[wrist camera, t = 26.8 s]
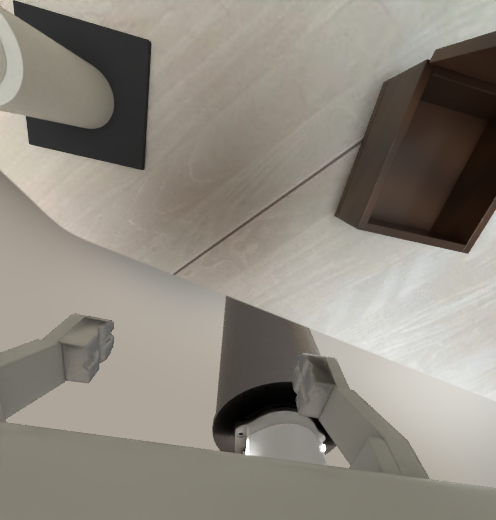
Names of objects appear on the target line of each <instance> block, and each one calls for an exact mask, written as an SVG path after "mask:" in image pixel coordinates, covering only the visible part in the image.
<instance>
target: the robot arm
mask: <svg viewBox="0 0 496 520" xmlns="http://www.w3.org/2000/svg"><path fill="white" fill-rule="evenodd" d="M113 329H114V322H113V321H112V320H107V319H101V318H97V317H91V316H85V315H79V314H73V315H70V316H69V317H68V318H67V319H66V320H65V321H63V322H62V323H61V324H60V325H59V326H58V327H57V328H55V329H54V330H53V331H52V332H50V333H49V334H48V335H47V336H46V337H45V338H44V339H42V340H38V339H37V340H34V341H32V342H29V343H26V344H23V345H20V346H18V347H15V348H12V349H9V350H7V351H4V352H1V353H0V520H496V488H492V487H484V486H477V485H469V484H462V483H454V482H446V481H439V480H432V479H430V478H429V477H428V475H427V473H426V471H425V470H424V468H423V466H422V465H421V463H420V461H419V459H418V457H417V456H416V454H415V452H414V451H413V449H412V447H411V445H410V443H409V442H408V440H407V439H405V438H404V437H403V436H402V435H401V434H400V433H399V432H398V431H397V430H396V429H395V428H393V426H391V425H390V424H389V423H388V422H387V421H386V420H385V419H384V418H383V417H382V416H381V415H380V414H378V413H377V412H376V411H375V410H374V409H373V408H372V407H371V406H370V405H368V403H367V402H366V401H364V400H363V399H362V398H361V397H360V396H359V395H358V394H357V393H356V392H355V391H354V390H350V388H349V386H348V384H347V382H346V380H345V378H344V375H343V373H342V371H341V369H340V366H339V364H338V362H337V361H336V359H335V358H331V357H323V356H317V355H311V354H305V353H301V354H300V356H299V359H298V361H299V365H298V366H296V367H295V369H294V372H293V379H292V381H293V389H294V391H295V392H296V393H297V394H298V395H297V397H296V404H297V409H296V408H289V407H280V408H273V409H269V410H266V411H263V412H261V413H259V414H257V415H256V416H254V417H253V418H251V419H249V420H246V421H242V422H239V423H237V424H236V425H235V444H234V453H230V452H222V451H214V450H206V449H199V448H192V447H185V446H177V445H169V444H163V443H155V442H148V441H140V440H133V439H126V438H118V437H110V436H103V435H96V434H88V433H80V432H73V431H66V430H58V429H50V428H43V427H35V426H28V425H21V424H13V423H6V420H5V419H7V418H8V417H10V416H11V415H13V414H14V413H16V412H18V411H19V410H21V409H22V408H24V407H26V406H27V405H29V404H30V403H32V402H33V401H35V400H37V399H38V398H40V397H42V396H43V395H45V394H46V393H48V392H49V391H51V390H53V389H54V388H56V387H58V386H59V385H60V384H62V383H64V382H65V380H66V381H74V382H82V383H89V382H90V381H91V380H92V378H93V377H94V376H95V374H96V373H97V371H98V370H99V363H101V362H103V361H105V360H106V359H107V358H108V356H109V355H110V353H111V350H112V348H113V344H114V336H113V335H112V334H111V332H112V330H113ZM312 417H314V418H319V419H318V420H319V421H320V422H321V424H322V425H323V427H324V428H325V430H326V431H327V432H328V434H329V435H330V437H331V438H332V440H333V441H334V442H335V444H336V445H337V447H338V448H339V449H340V451H341V452H342V454H343V455H344V457H345V458H346V460H347V461H348V462H349V464H350V465H351V466H350V468H342V467H335V466H327V463H326V460H325V455H324V451H325V450H326V448H325V445H324V444H323V445H322V443H323V442H324V441H325V434H324V432H323V431H322V430H321V429H320V428H318V427H317V426H316V423H315V421H314V419H313V418H312Z"/></svg>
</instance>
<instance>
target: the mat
mask: <svg viewBox="0 0 496 520" xmlns="http://www.w3.org/2000/svg"><path fill="white" fill-rule="evenodd" d="M13 5H14V14H15V16H17V17H18V18H20V19H21V20H23V21H24V22H26V23H27V24H29V25H30V26H32V27H34V28H35V29H37V30H38V31H40V32H41V33H43V34H44V35H46V36H47V37H49V38H51V39H52V40H54V41H55V42H57V43H58V44H60V45H61V46H63V47H64V48H66V49H67V50H69V51H71V52H72V53H74V54H75V55H77V56H78V57H80V58H81V59H83V60H84V61H86V62H88V63H89V64H91V65H92V66H94V67H95V68H96V69H98V70H99V71H100V72H101V73H102V74H103V76H104V77H105V78H106V80H107V81H108V83H109V85H110V87H111V90H112V93H113V97H114V110H113V114H112V116H111V118H110V120H109V121H108V122H107V123H106V124H105V125H104V126H102V127H100V128H96V129H87V128H82V127H77V126H72V125H68V124H63V123H58V122H53V121H48V120H43V119H39V118H34V117H29V116H26V120H27V129H28V138H29V144H31V145H36V146H40V147H44V148H49V149H53V150H57V151H62V152H66V153H71V154H75V155H79V156H84V157H88V158H92V159H97V160H101V161H106V162H110V163H114V164H119V165H123V166H127V167H132V168H136V169H141V170H144V162H145V144H146V126H147V108H148V90H149V72H150V54H151V42H150V41H149V40H147V39H143V38H140V37H136V36H133V35H130V34H126V33H123V32H119V31H116V30H113V29H109V28H106V27H103V26H99V25H96V24H92V23H89V22H86V21H82V20H79V19H75V18H72V17H69V16H65V15H62V14H58V13H55V12H52V11H48V10H45V9H41V8H38V7H35V6H31V5H28V4H25V3H21V2H18V1H14V0H13Z"/></svg>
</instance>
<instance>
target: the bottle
mask: <svg viewBox="0 0 496 520" xmlns="http://www.w3.org/2000/svg"><path fill="white" fill-rule="evenodd" d="M113 110H114V97H113V93H112V90H111V87H110V85H109V83H108V81H107V80H106V78H105V77H104V76H103V74H102V73H101V72H100V71H99V70H98V69H96V68H95V67H94V66H92V65H91V64H89V63H88V62H86V61H84V60H83V59H81V58H80V57H78V56H77V55H75V54H74V53H72V52H71V51H69V50H67V49H66V48H64V47H63V46H61V45H60V44H58V43H57V42H55V41H54V40H52V39H51V38H49V37H47V36H46V35H44V34H43V33H41V32H40V31H38V30H37V29H35V28H34V27H32V26H30V25H29V24H27V23H26V22H24V21H23V20H21V19H20V18H18V17H17V16H15V15H13V14H12V13H10V12H9V11H7V10H6V9H4V8H3V7H1V6H0V111H5V112H10V113H15V114H19V115H24V116H29V117H34V118H39V119H43V120H48V121H53V122H58V123H63V124H68V125H72V126H77V127H82V128H87V129H96V128H100V127H102V126H104V125H105V124H106V123H107V122H108V121H109V120H110V118H111V116H112V114H113Z"/></svg>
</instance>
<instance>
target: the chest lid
mask: <svg viewBox="0 0 496 520" xmlns="http://www.w3.org/2000/svg"><path fill="white" fill-rule="evenodd" d="M429 63H431V64H434V65H437V66H440V67H443V68H446V69H449V70H452V71H455V72H458V73H461V74H464V75H467V76H470V77H473V78H476V79H479V80H482V81H485V82H488V83H491V84H494V85H496V31H495V32H491V33H488V34H485V35H482V36H478V37H475V38H472V39H469V40H466V41H462V42H459V43H456V44H453V45H449V46H446V47H443V48H440V49H437V50H435V52H434V54H433V56H432V58H431V60H430V62H429Z"/></svg>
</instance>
